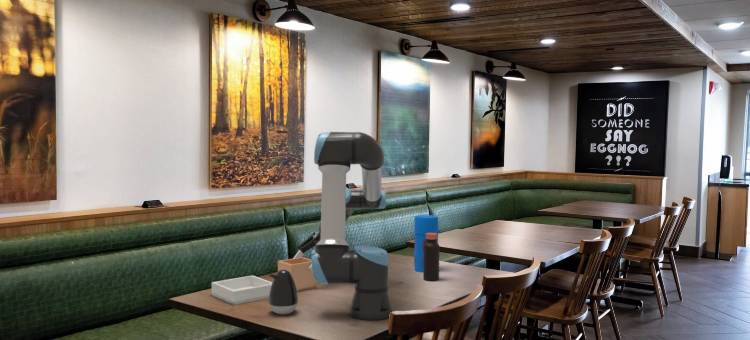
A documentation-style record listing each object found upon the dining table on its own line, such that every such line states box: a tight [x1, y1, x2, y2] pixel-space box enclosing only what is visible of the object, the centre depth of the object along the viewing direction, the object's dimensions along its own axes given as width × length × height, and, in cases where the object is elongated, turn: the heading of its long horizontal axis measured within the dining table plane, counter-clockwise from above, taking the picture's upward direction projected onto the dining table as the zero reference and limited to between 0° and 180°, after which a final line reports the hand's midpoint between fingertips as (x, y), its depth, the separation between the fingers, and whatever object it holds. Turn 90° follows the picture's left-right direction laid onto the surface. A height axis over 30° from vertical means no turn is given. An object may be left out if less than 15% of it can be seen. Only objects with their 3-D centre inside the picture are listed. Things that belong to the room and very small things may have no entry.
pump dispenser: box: [268, 269, 299, 315], centre depth 209 cm, size 10×10×15 cm
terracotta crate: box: [277, 257, 317, 292], centre depth 243 cm, size 10×12×11 cm
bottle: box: [422, 233, 440, 282], centre depth 258 cm, size 7×7×20 cm
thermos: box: [413, 214, 439, 273], centre depth 275 cm, size 11×11×25 cm
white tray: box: [211, 275, 273, 306], centre depth 230 cm, size 18×18×5 cm
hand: (301, 267), depth 245 cm, fingers open, 13 cm apart
